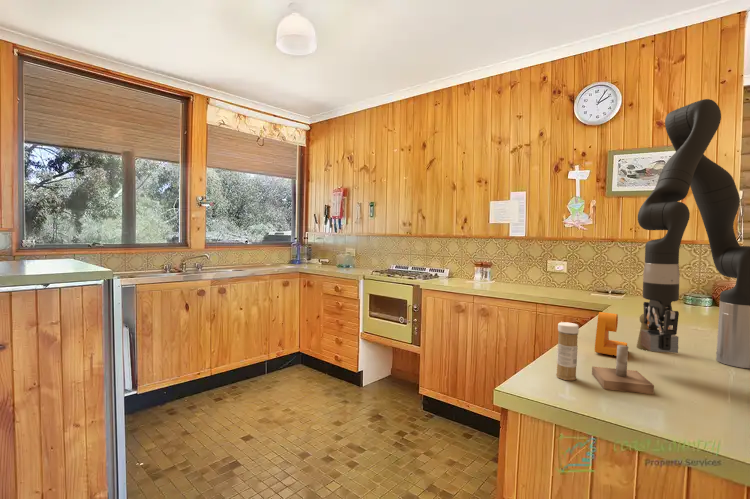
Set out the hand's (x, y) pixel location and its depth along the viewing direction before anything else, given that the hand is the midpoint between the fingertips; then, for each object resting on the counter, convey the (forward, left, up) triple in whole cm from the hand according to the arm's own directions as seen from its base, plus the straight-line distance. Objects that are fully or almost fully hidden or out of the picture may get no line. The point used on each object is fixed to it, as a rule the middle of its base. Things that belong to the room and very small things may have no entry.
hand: (658, 346), depth 102 cm
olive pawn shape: (-7, -26, -7) cm, 28 cm away
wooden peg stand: (+12, +11, -7) cm, 17 cm away
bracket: (+6, -17, -8) cm, 20 cm away
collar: (0, 0, -1) cm, 1 cm away
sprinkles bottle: (+24, +11, -7) cm, 27 cm away
